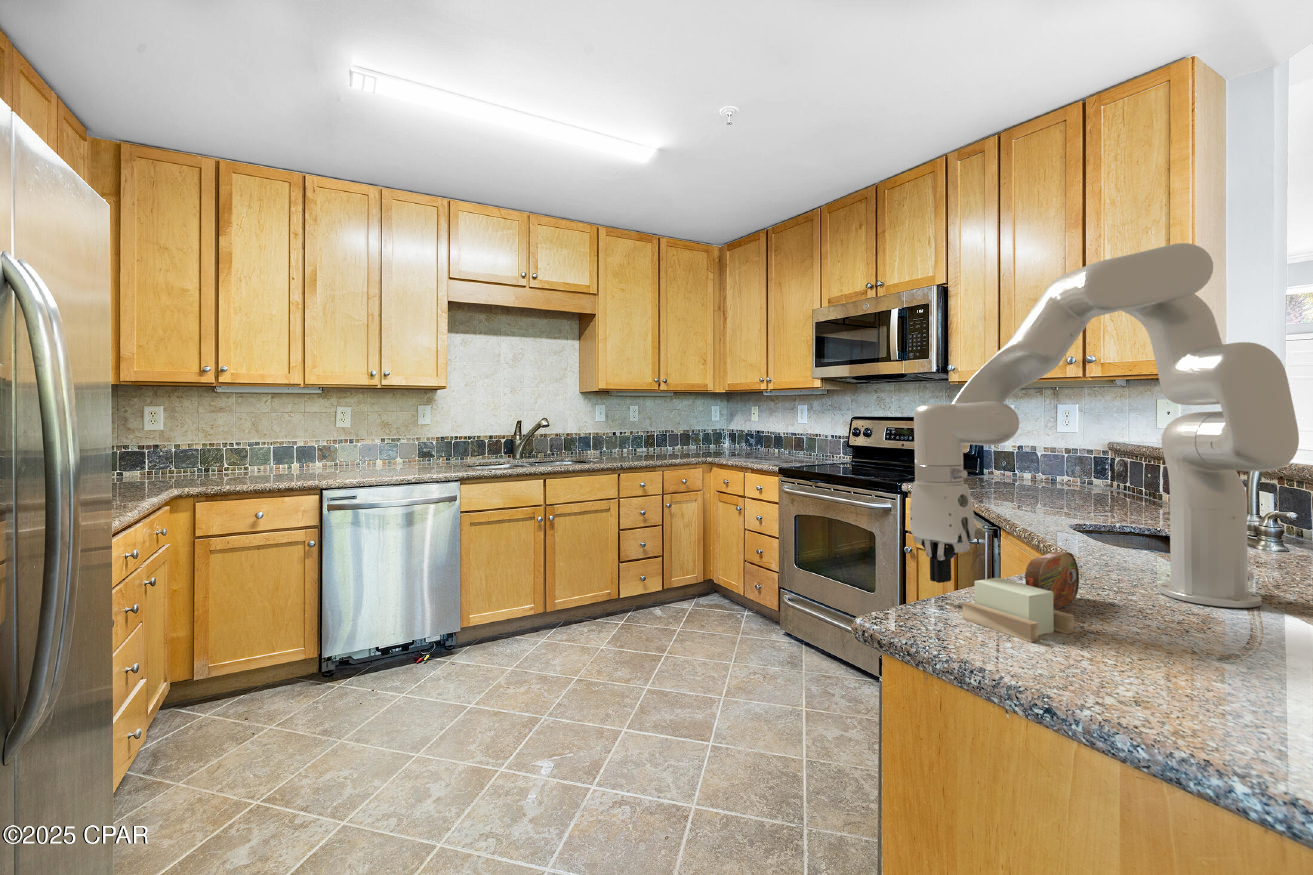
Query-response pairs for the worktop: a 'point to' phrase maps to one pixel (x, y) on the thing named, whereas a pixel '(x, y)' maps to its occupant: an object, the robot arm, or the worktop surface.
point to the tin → (1055, 576)
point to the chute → (1013, 621)
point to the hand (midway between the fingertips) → (940, 580)
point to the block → (1017, 601)
